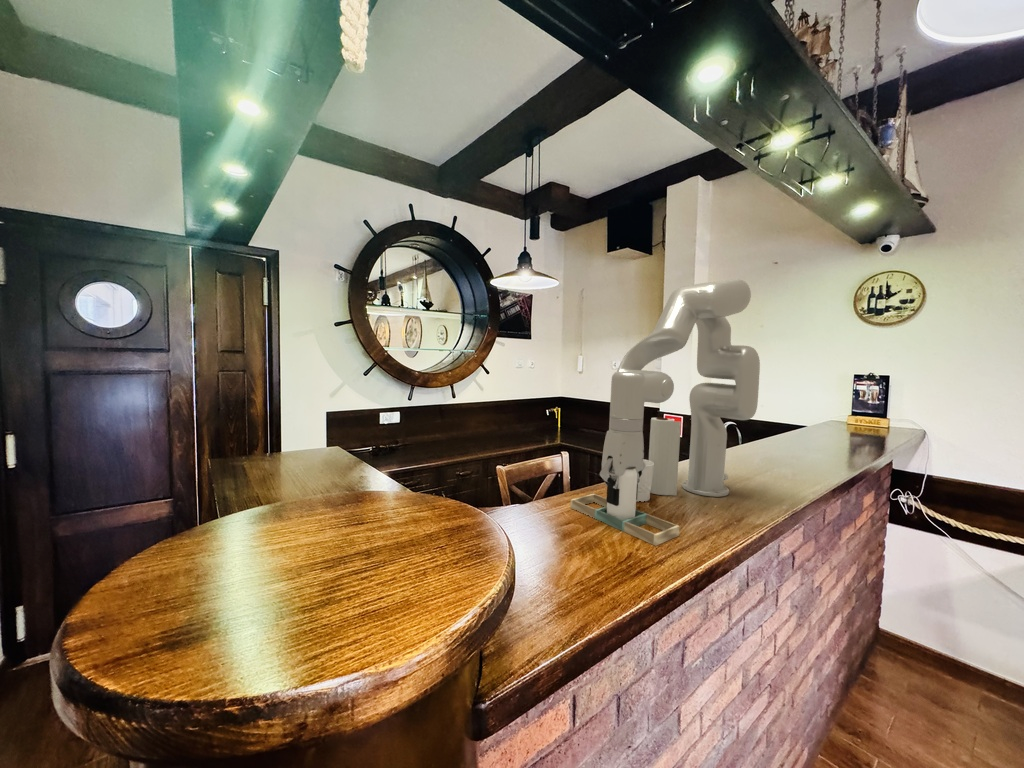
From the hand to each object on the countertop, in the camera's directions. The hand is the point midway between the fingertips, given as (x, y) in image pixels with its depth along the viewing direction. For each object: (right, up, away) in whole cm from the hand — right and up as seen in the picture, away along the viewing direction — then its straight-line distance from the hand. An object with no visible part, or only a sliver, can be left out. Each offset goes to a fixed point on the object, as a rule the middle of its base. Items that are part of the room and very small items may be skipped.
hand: (621, 500), depth 98 cm
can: (0, -4, 0) cm, 4 cm away
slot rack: (0, -5, 0) cm, 5 cm away
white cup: (+9, -4, +17) cm, 19 cm away
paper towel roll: (+16, -4, +22) cm, 27 cm away
